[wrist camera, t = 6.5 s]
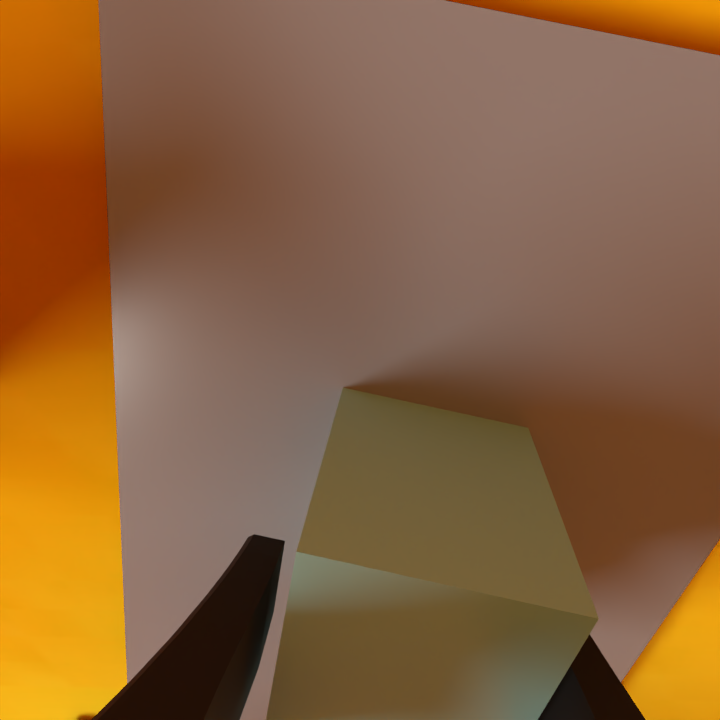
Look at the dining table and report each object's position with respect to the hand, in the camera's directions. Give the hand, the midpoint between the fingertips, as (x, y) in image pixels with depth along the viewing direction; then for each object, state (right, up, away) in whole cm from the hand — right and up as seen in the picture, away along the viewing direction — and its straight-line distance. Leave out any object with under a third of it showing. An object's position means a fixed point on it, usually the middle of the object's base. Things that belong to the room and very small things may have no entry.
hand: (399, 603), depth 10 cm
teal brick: (0, +1, +2) cm, 2 cm away
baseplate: (0, +1, +3) cm, 3 cm away
